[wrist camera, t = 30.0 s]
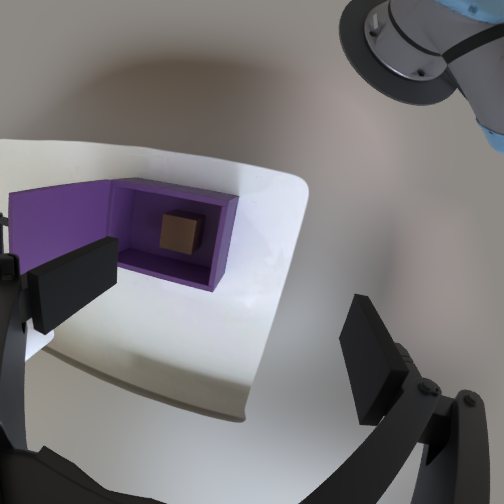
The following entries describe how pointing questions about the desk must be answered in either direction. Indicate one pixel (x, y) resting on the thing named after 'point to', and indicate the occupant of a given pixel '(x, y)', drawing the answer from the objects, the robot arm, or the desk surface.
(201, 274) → the purple box
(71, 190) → the purple hinged box lid
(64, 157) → the desk surface
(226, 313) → the desk surface
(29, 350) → the mug
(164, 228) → the block
